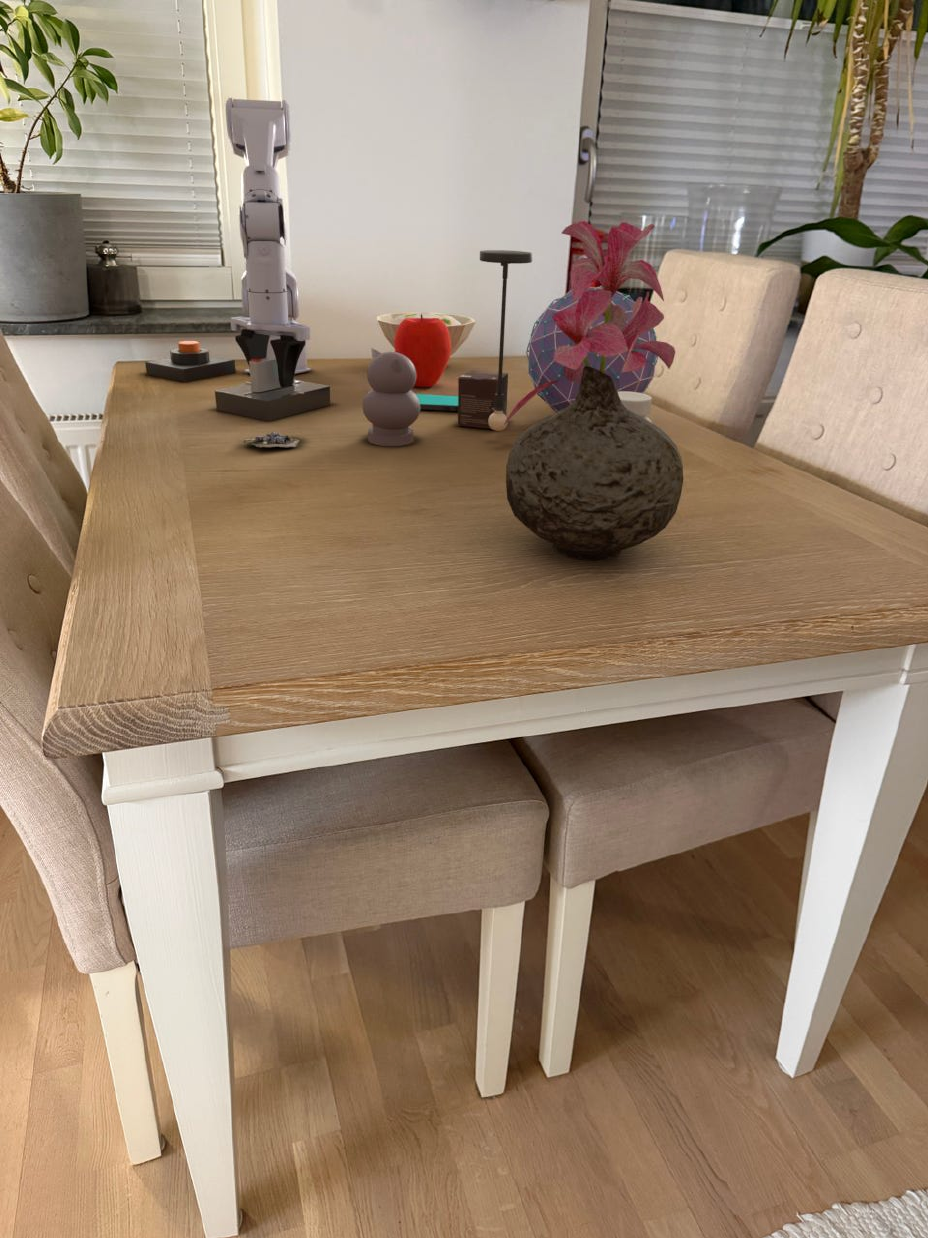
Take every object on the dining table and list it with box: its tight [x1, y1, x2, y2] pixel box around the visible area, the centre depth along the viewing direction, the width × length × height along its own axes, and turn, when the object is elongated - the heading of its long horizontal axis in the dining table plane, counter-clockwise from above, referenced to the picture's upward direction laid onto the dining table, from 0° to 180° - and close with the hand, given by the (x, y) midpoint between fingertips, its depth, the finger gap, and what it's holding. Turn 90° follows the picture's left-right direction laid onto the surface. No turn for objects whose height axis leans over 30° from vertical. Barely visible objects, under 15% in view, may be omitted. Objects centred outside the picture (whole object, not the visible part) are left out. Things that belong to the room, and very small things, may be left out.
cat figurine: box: [362, 347, 422, 447], centre depth 122 cm, size 8×8×12 cm
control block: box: [144, 347, 237, 383], centre depth 161 cm, size 12×10×4 cm
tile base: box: [214, 379, 331, 422], centre depth 139 cm, size 14×12×3 cm
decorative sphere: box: [525, 285, 659, 414], centre depth 135 cm, size 20×20×20 cm
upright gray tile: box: [248, 357, 295, 393], centre depth 138 cm, size 8×2×5 cm, turn 147°
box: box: [457, 369, 509, 430], centre depth 133 cm, size 6×6×7 cm
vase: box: [503, 220, 684, 561], centre depth 83 cm, size 17×17×30 cm
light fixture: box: [479, 249, 533, 432], centre depth 118 cm, size 7×7×25 cm
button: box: [177, 340, 201, 353], centre depth 160 cm, size 4×4×2 cm
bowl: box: [376, 311, 476, 357], centre depth 172 cm, size 19×19×10 cm
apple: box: [394, 314, 451, 388], centre depth 156 cm, size 10×10×12 cm
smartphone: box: [415, 393, 458, 412], centre depth 144 cm, size 7×1×15 cm
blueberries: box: [243, 431, 301, 449], centre depth 120 cm, size 7×8×2 cm
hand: (273, 383), depth 138 cm, fingers open, 5 cm apart
